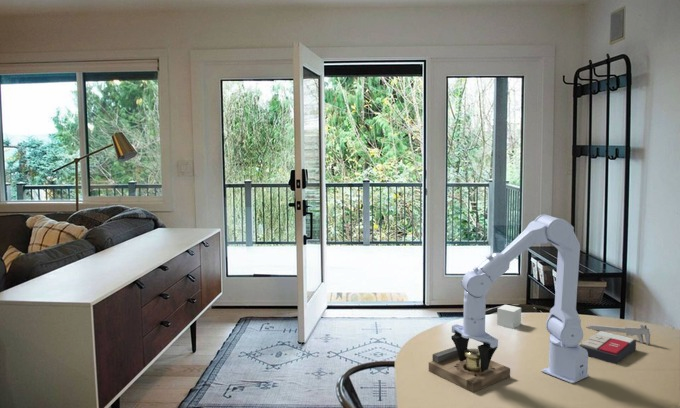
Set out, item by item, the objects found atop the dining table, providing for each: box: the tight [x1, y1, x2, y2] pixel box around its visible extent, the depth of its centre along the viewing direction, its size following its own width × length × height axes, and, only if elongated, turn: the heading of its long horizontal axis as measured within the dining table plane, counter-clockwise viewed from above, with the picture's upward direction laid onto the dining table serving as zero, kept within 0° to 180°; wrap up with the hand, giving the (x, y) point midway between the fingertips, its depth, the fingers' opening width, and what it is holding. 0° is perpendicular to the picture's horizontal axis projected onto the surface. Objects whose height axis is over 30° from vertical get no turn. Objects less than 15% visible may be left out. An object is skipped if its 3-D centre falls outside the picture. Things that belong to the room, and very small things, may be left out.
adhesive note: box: [496, 304, 522, 329], centre depth 186 cm, size 6×6×6 cm
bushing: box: [465, 348, 481, 372], centre depth 145 cm, size 5×5×7 cm
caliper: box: [585, 324, 651, 346], centre depth 174 cm, size 20×1×6 cm, turn 36°
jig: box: [428, 346, 511, 393], centre depth 147 cm, size 16×15×4 cm
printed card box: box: [579, 330, 637, 365], centre depth 161 cm, size 11×4×15 cm
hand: (473, 364), depth 145 cm, fingers open, 7 cm apart
